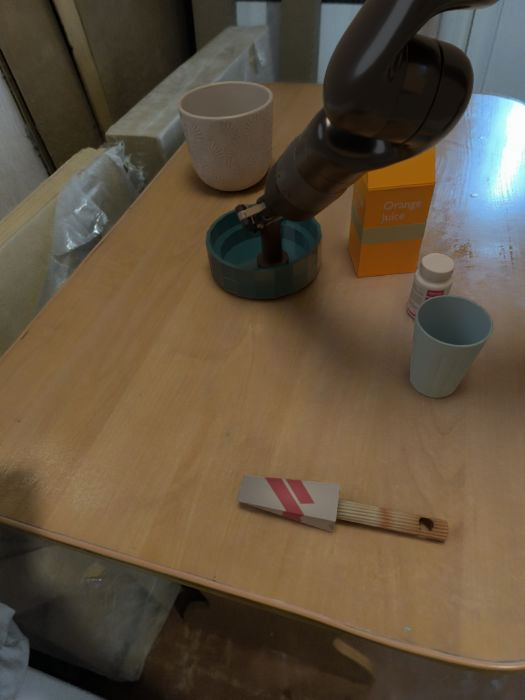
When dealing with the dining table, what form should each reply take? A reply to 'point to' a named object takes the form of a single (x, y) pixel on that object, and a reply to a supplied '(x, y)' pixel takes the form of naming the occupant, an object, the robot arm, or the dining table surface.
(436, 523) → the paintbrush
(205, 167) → the planter
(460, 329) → the cup
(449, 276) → the pill bottle
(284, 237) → the bowl
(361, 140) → the robot arm
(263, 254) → the grey brown flanged cylinder
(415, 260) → the orange juice
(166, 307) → the dining table surface
